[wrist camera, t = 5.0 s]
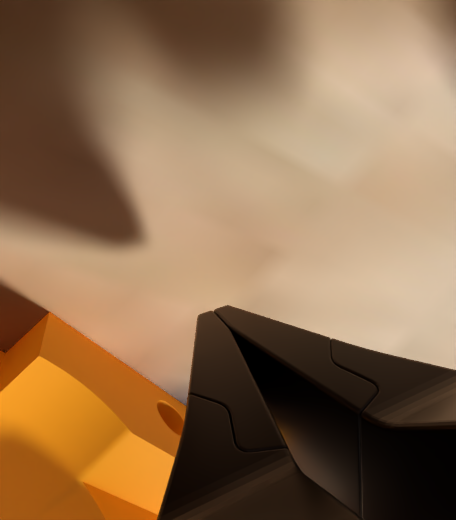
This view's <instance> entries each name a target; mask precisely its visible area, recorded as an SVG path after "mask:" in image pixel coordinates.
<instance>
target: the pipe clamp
mask: <svg viewBox="0 0 456 520" xmlns="http://www.w3.org/2000/svg"><path fill="white" fill-rule="evenodd" d="M185 413H186V406H185V405H184V404H182V403H181V402H179V401H178V400H176V399H175V398H174V397H172V396H171V395H169V394H168V393H166V392H165V391H163V390H162V389H161V388H159V387H158V386H156V385H155V384H153V383H152V382H150V381H149V380H148V379H146V378H145V377H143V376H142V375H140V374H139V373H137V372H136V371H135V370H133V369H132V368H130V367H129V366H127V365H126V364H124V363H123V362H121V361H120V360H119V359H117V358H116V357H114V356H113V355H111V354H110V353H108V352H107V351H106V350H104V349H103V348H101V347H100V346H98V345H97V344H95V343H94V342H93V341H91V340H90V339H88V338H87V337H85V336H84V335H82V334H81V333H80V332H78V331H77V330H75V329H74V328H72V327H71V326H69V325H68V324H67V323H65V322H64V321H62V320H61V319H59V318H58V317H56V316H55V315H54V314H52V313H51V312H49V313H48V314H47V315H46V316H45V317H44V318H43V319H41V320H40V321H39V322H38V323H37V324H36V325H35V326H34V327H33V328H32V329H31V330H30V331H29V332H28V333H27V334H25V335H24V336H23V337H22V338H21V339H20V340H19V341H18V342H17V343H16V344H15V345H14V346H13V347H12V348H11V349H9V350H8V351H7V352H6V353H4V352H3V351H1V350H0V520H157V517H158V513H159V510H160V507H161V504H162V500H163V497H164V493H165V490H166V487H167V483H168V480H169V476H170V473H171V470H172V466H173V463H174V459H175V456H176V453H177V449H178V445H179V441H180V437H181V433H182V430H183V425H184V419H185Z"/></svg>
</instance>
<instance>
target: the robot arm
mask: <svg viewBox="0 0 456 520" xmlns="http://www.w3.org/2000/svg"><path fill="white" fill-rule="evenodd" d="M157 520H456V370H453V369H449V368H444V367H440V366H436V365H431V364H427V363H423V362H419V361H414V360H410V359H406V358H402V357H397V356H393V355H389V354H385V353H381V352H377V351H373V350H369V349H365V348H362V347H359V346H355V345H352V344H349V343H345V342H342V341H339V340H336V339H330V338H329V337H326V336H323V335H320V334H317V333H314V332H310V331H307V330H304V329H301V328H298V327H295V326H292V325H289V324H285V323H282V322H279V321H276V320H273V319H270V318H267V317H264V316H260V315H257V314H254V313H251V312H248V311H245V310H242V309H239V308H235V307H232V306H229V305H227V306H223V307H220V308H217V309H215V310H214V312H213V311H208V312H205V313H202V314H200V315H198V318H197V326H196V334H195V342H194V350H193V359H192V367H191V375H190V383H189V391H188V398H187V406H186V413H185V419H184V425H183V430H182V433H181V437H180V441H179V445H178V449H177V453H176V456H175V459H174V463H173V466H172V470H171V473H170V476H169V480H168V483H167V487H166V490H165V493H164V497H163V500H162V504H161V507H160V510H159V513H158V517H157Z"/></svg>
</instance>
